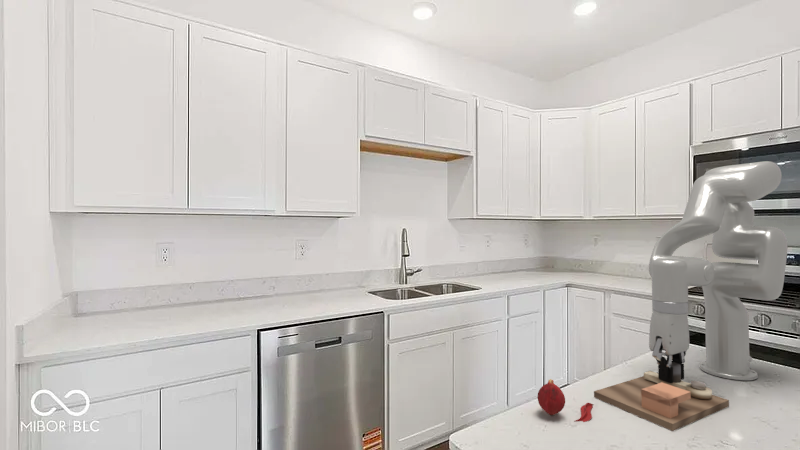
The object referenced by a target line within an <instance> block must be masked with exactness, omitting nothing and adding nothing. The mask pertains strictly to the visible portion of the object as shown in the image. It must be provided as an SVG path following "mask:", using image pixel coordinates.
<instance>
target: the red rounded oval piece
mask: <svg viewBox="0 0 800 450" xmlns="http://www.w3.org/2000/svg"><path fill="white" fill-rule="evenodd" d="M554 381H555V380H554V379H552V378H550V379H548V382H547V383H545V384H543V385H542V386H541V387H540V388H539V390H538V392H537V402H538V405H539V407H540V409H542V410H543V411H544V412H545V413H546V414H548V415H549V416H551V417H553V416H555V415H557V414H559V413H560V412H562V411H563V409H564V407H565V406H566V405H565V404H566V397H565V394H564V392H563V390H562V389H561V388H560V387H559V386H558V385H556V384H555V383H554Z"/></svg>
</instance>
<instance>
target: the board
mask: <svg viewBox="0 0 800 450" xmlns="http://www.w3.org/2000/svg"><path fill="white" fill-rule="evenodd" d="M690 383H691V386H692V387H693V388H696V389H706V387H707V384H706V383H705V382H703V381H701V380H691V381H690ZM655 384H658V383H656V382H653V381H650V380H647V379H644V375H643V376H640V377H636V378H632V379H629V380H626V381H623V382H620V383H616V384H614V385H611V386H607V387H604V388H599V389H597V390H594V391H593V398H595V399H597V400H599V401H602V402H604V403H606V404H609V405H611V406H612V407H613V406H614V407H615V408H618V409H620V410H622V411H625V412H628V413H629V414H632V415H634V416H636V417H639V418H641V419H644V420H646V421H648V422H649V423H650V422H651V423H653V424H655V425H657V426H660V427H662V428H664V429H666V430H669V431H671V432H674V431H676V430H679V429H681V428H683V427H686V426H688V425H690V424H692V423H695V422H698V421H699V420H702V419H704V418H706V417H709V416H710V415H711V416H712V415H713V414H715V413H718V412H720V411H722V410H724V409H726V408H729V407H730V400H729V399H727V398H724V397H721V396H717V395H714V394H712V398H711V399H700V398H695V397H692V396H691V399H689V400H686V401H683V402H681V403H678V416H675V417H673V418H668V417H665V416H663V415H661V414H658V413H656V412H653V411H651V410H648V409H646V408H643V407H642V399H641V389H643V388H646V387H649V386H652V385H655Z"/></svg>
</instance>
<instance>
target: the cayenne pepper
mask: <svg viewBox="0 0 800 450" xmlns="http://www.w3.org/2000/svg"><path fill="white" fill-rule="evenodd" d="M594 405H595V404H593V403H591V402H586V403H585V404H584V405H582V406H581V407H580V417H579V418H578V419H576V420H574V421H573V422H576V423H577V422H583V423H586V422H590V421H591V420H592V418H593V415H592V412H591V411H592V409H594Z"/></svg>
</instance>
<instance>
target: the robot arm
mask: <svg viewBox="0 0 800 450" xmlns="http://www.w3.org/2000/svg"><path fill="white" fill-rule="evenodd" d="M782 175H783V174H782V171H781V168H780V167H779V166H778V164H777V163H775V162H773V161H770V160H769V161H768V160H766V161H757V162H755V161H754V162H750V163H749V162H747V163H740V164H732V165H725V166H719V167H718V166H717V167H714V168H712V169H709V170H707V171H705V173H704V174H703V175H701V176H699V177H698V178H697V179H696V180H695V181H694V182H693V184H692V188H691V190H690V193H689V196H688V200H687V202H686V205H685V209H684V211H683V215H682V219H681V220H680V221H678V222H677V223H676V224H674V225H673V226H672V227H670V228H669V229H668V230H667V231H665V232H664V234H662V235H661V236H660V237H659V239H657V240H656V243H655V244H654V247H653V249H652V252H651V255H650V258H649V263H648V273H649V275H650V277H651V297H652V299H651V302H652V304H651V307H652V308H651V309H652V310H651V311H652V313H651V317H650V322H649V323H650V324H649V337H648V338H649V339H648V341H649V342H648V345H649V347H648V348H649V351H651V352H652V353H651V356H652V357H653V358H654V359H655V360H656V364H657V365H658V366H657V367H658V369H657V370H658V372H657V373H658V376H659V380H662V381H665V382H668V383H673V367H671V362H676V363H678V364H680V365H681V381H684V379H685V362H686V359H685V356H686V354H687V352H688V350H689V348H690V329H689V327H690V326H689V319H688V316H689V287H696V288H697V287H698V288H700V287H701V288H702V293H703V298H704V316H705V317H704V320H705V321H704V322H705V324H704V325H705V326H704V327H705V329H704V330H705V360H706V361H705V360H703V361H701V362H700V363H699V368H700V370H702V371H703V372H704V373H707V374H709V375H712V376H715V377H720V378H724V379H728V380H734V381H735V380H736V381H754V380H756V379H758V372H756V370H754V369H752V368H750V363H751V362H752V361H753V357H752V356H751V355H750V331H749V330H750V328H749V327H750V325H749V324H750V323H749V320H750V319H749V312H748V309H747V308H746V306H745V305H744V303H743V302H742V301H741V299H740V298H743V299H752V300H761V301H775V300H776V299H779V297H780V296H781V295H782V293H783V290H784V289H783V288H784V282H785V275H786V268H787V267H786V266H787V259H788V240H787V239H788V238H787V236H786V233H785V232H784V231H783V230H782V229H780V228H779V227H775V226H771V225H768V226H767V225H761V226H760V225H755V226H754V220H755V210H754V208H753V207H752V205H750V202H751V203H752V202H755V201H758V200H760V199H762V198H765V196H767V195H770V194H771V193H773V192H774V191H775V190H777V188H778V187H779V186H780V184H781V181H782ZM710 235H712V242H711V249H712V253H713V254H714V255H715V256H717V257H718V258H723V259H729V260H730V259H731V260H745V261H746V260H748V261H758V263H756V264H755V263H744V262H743V263H741V262H732V261H731V262H728V261H716V262H715V261H713V262H711V261H710V260H708V259H705V258H702V257H695V256H694V257H693V256H683V255H682V256H681V255H680V256H679V255H673V254H675V252H676V251H677V250H678V249H679V248H680V247H682V246H683V245H685V244H687V243H691V242H693V241H696V240H698V239H701V238H704V237H708V236H710ZM665 356H666V357H665Z"/></svg>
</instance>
